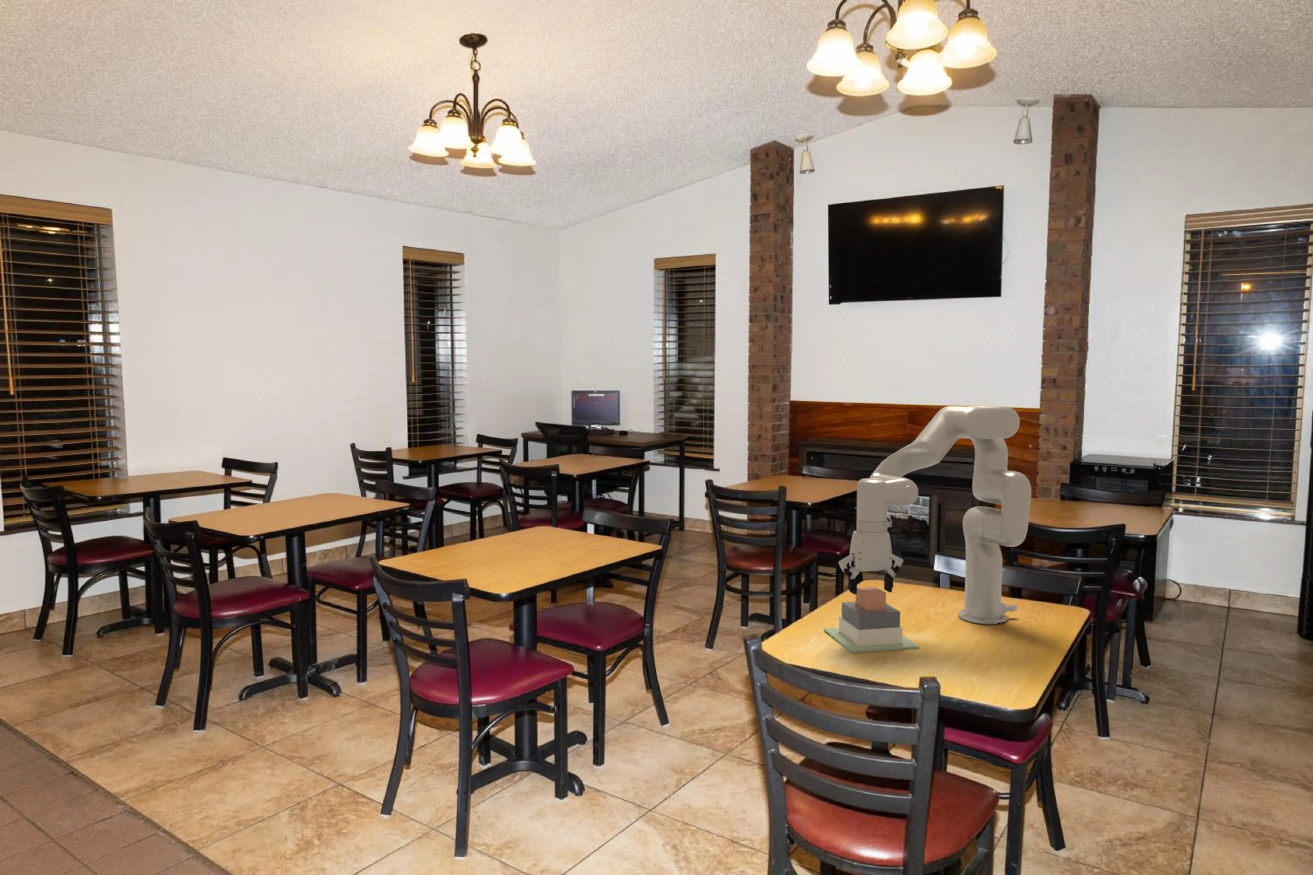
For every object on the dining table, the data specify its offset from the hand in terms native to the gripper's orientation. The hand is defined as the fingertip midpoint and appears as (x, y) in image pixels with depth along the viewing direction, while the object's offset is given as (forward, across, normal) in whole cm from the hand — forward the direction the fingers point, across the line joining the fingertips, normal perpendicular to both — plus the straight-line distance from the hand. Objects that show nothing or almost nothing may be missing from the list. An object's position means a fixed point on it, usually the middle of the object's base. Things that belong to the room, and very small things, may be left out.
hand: (870, 592), depth 212 cm
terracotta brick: (+4, 0, 0) cm, 4 cm away
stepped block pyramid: (+12, 0, 0) cm, 12 cm away
